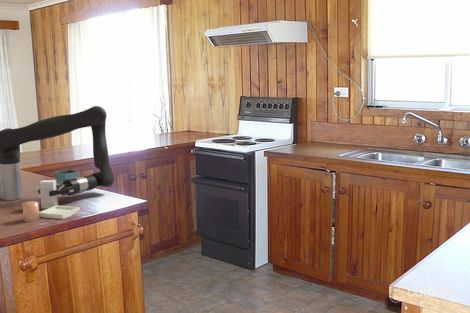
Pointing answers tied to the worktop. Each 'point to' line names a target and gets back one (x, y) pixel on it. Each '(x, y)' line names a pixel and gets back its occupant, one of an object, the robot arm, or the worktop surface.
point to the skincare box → (44, 191)
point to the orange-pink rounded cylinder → (31, 211)
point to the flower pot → (66, 175)
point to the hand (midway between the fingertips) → (44, 192)
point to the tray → (59, 212)
